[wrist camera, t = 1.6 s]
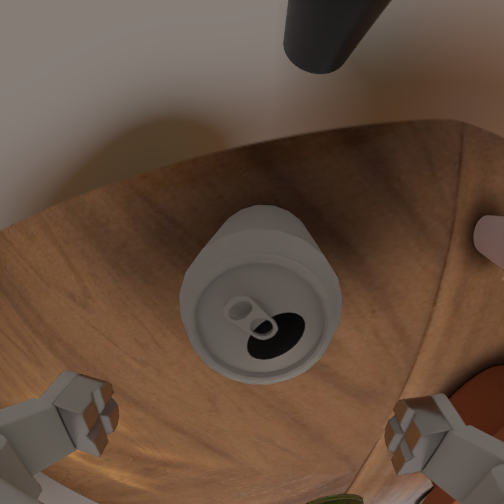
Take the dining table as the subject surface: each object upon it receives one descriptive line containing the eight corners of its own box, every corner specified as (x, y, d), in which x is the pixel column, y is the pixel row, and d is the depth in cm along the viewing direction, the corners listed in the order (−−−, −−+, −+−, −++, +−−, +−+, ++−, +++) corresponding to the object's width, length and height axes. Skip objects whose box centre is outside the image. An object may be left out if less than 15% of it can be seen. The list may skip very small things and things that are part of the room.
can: (261, 314, 25) (255, 419, 13) (195, 249, 24) (134, 319, 12) (331, 254, 23) (384, 330, 12) (265, 182, 22) (263, 193, 10)
